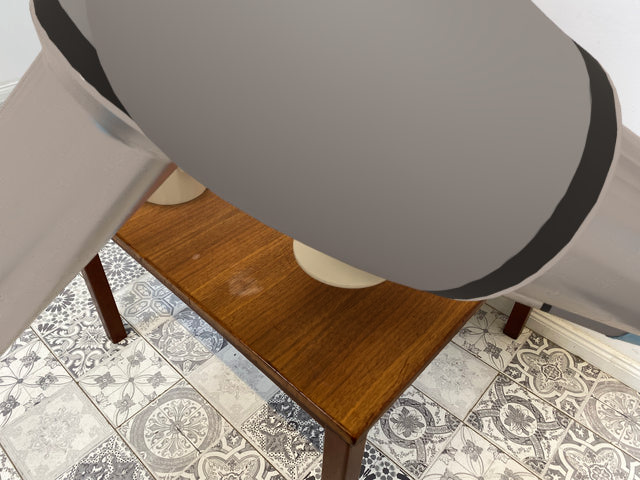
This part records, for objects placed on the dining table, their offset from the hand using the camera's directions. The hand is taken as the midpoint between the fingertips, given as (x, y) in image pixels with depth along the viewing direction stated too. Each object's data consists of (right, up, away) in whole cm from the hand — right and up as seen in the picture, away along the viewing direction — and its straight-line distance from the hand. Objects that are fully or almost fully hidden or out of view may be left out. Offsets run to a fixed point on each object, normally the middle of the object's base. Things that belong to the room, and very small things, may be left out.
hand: (310, 193), depth 60 cm
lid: (+5, -7, +2) cm, 8 cm away
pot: (-25, +5, +31) cm, 40 cm away
